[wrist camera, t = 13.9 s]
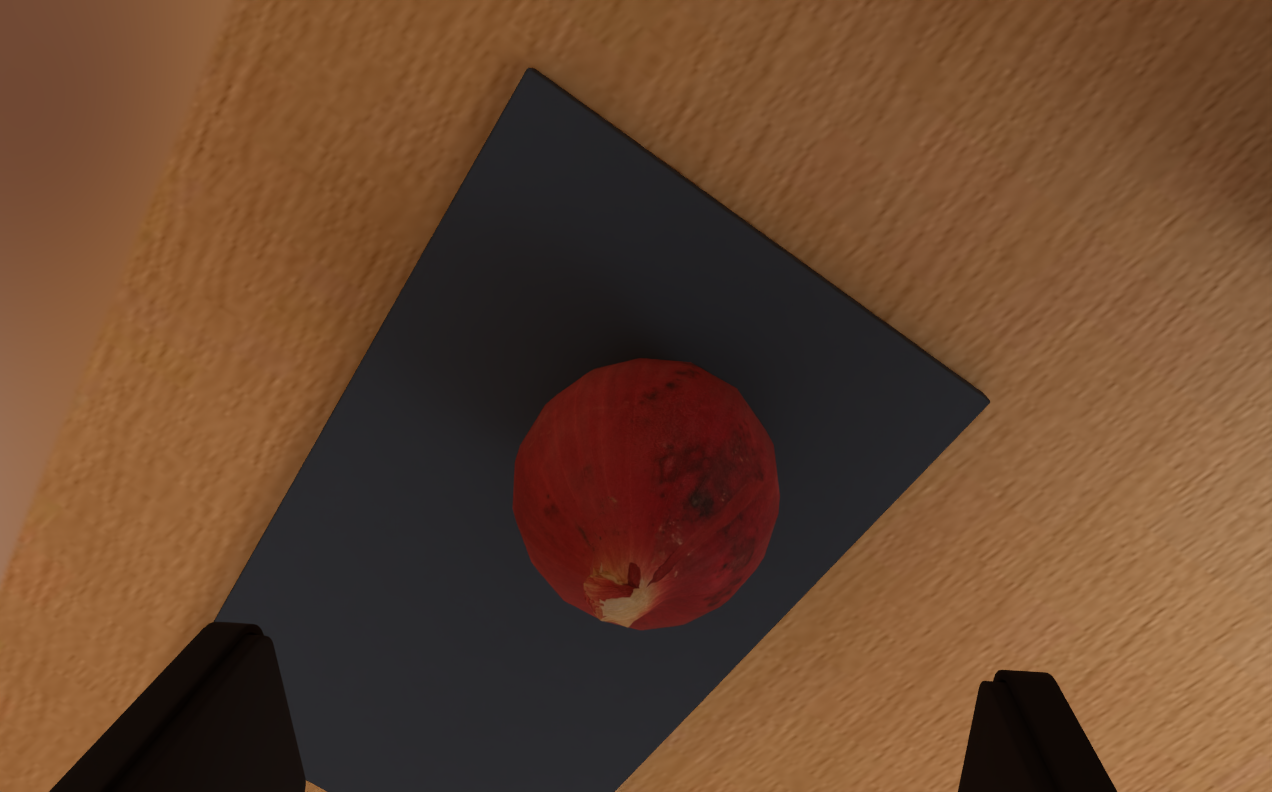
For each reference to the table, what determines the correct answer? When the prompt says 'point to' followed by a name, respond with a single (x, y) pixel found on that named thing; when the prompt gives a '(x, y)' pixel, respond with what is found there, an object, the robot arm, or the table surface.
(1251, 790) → the table surface
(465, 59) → the table surface
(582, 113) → the mat
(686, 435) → the pomegranate
